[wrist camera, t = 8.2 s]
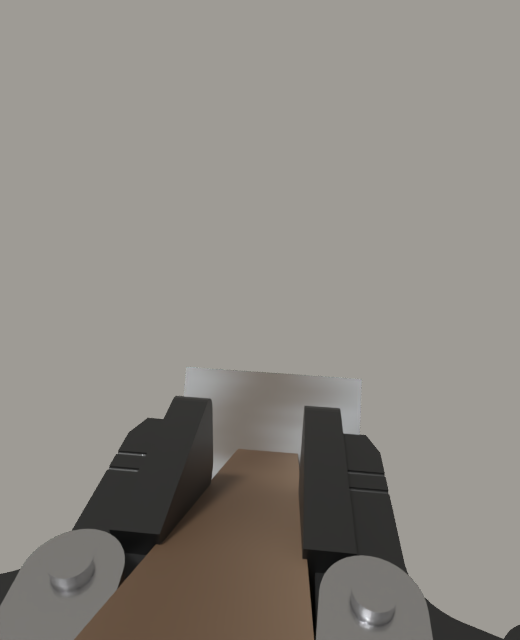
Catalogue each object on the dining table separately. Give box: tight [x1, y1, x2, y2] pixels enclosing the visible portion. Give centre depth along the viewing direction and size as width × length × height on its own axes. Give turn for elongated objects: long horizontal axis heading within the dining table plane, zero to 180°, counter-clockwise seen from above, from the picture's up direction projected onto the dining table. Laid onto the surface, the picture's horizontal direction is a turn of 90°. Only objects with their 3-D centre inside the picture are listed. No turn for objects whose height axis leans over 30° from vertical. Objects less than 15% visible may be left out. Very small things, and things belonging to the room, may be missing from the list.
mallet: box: [74, 367, 362, 640], centre depth 12 cm, size 6×18×5 cm, turn 176°
